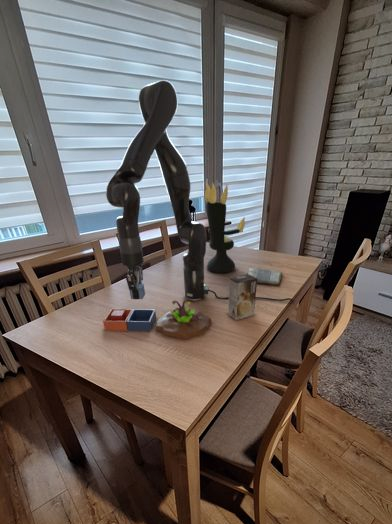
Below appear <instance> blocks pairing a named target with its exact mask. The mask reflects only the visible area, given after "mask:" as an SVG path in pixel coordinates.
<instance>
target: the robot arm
mask: <svg viewBox="0 0 392 524" xmlns="http://www.w3.org/2000/svg"><path fill="white" fill-rule="evenodd" d="M178 104H179V100H178V94H177V91H176V88H175V87H174V85H173V84H172V83H171V82H170V81H168V80H165V79H163V80H157V81H154V82H153V83H150V84H147V85H144V86H143V87H141V88H140V89H139V93H138V105H139V110H140V113H141V114H140V115H141V117H142V119H143V122H144V124H143V126H142V128H140V130H139V131H138V132H137V134H136V135H135V136H134V138H132V140H131V142H130V144H129V145H128V147H127V149H126V151H125V154H124V156H123V159H122V161H121V164H120V166H119V167H118V168H117V169H116V171H115V172H114V173H113V175H112V176H111V178H110V179H109V180H108V183H107V184H106V190H105V197H106V200H107V202H108V204H109V205H111V206H112V207H115V208H119V209H120V208H121V209H122V215H121V216H118V217H117V218H116V221H115V225H116V226H115V227H116V232H117V235H118V248H119V253H120V259H121V264H122V265H123V266H125V267H126V268H127V275H125V280H126V283H127V288H128V291H130V290H132V294H133V299H132V300H140V299H139V291H138V284H143V280H144V274H143V264H144V262H145V259H144V252H143V245H142V239H141V235H140V228H139V218H140V208H141V195H140V191H139V189H138V187H137V185H136V184H137V183H140V182H142V181H143V178H144V176H145V173H146V171H147V168H148V166H149V164H150V161H151V159H152V156H153V154H154V152H155V154H156V158H157V160H158V164H159V167H160V171H161V174H162V179H163V182H164V186H165V188H166V192H167V195H168V197H169V201H170V205H171V207H172V208H171V209H172V212H173V216H174V220H175V225H176V231H177V235H178V238H179V240H180V241H181V242H182V243H183V244H185V245H188V250H187V251H188V252H185V253H184V254H183V255H182V265H183V288H184V290H183V291H184V300H188V301H190V302H198V301H204V300H205V295H206V296H207V295H209V293H212V294H214V296H215V298H216V299H219V300H229V296H228V297H220V296H218V294H217V293H216V291H214V290H211V289H209V288H210V287H209V285H206V284H205V257H206V253H207V229H206V227H205V225H204V224H203V223H201V222H197V221H193V218H192V216H191V212H190V211H191V210H190V207H189V206H190V205H189V203H190V201H189V200H190V195H191V180H190V174H189V171H188V167H187V164H186V161H185V160H184V158H183V156H182V155H181V154H180V152H179V151H178V149H177V148H176V147H175V146H174V144H173V142H172V141H171V140H170V137H169V135H168V131H167V129H168V127H169V126H170V124H171V122H172V121H173V119H174V117H175V116H176V113H177V109H178ZM133 286H134V287H133ZM256 299H257V300H269V301H277V302H284V301H291V302H295V300H294V299H293V298H290V297H288V298H287V297H286V298H283V299H282V298H270V297H263V296H262V297H261V296H256ZM256 299H255V300H256Z"/></svg>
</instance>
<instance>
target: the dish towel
mask: <svg viewBox="0 0 392 524" xmlns="http://www.w3.org/2000/svg"><path fill="white" fill-rule="evenodd" d="M247 274H249V275H251V276H253V277H255V278H257V284H263V285H272V286H279V285H280V282H281V279H282V276H283V271H281V270H271V269H268V268H267V269H266V268H259V267H258V268H254V267H249V269H248V272H247Z"/></svg>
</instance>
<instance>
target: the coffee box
mask: <svg viewBox="0 0 392 524" xmlns="http://www.w3.org/2000/svg"><path fill="white" fill-rule="evenodd" d="M228 285H229V286H228V290H229V291H228V297H229V299H228V308H227V309H228V311H227V314H228V315H229V316H230V317H231V318H233V319H234V320H235V321H237V320H241V319H245V318H247V317H251V316H254V315H255V309H256V297H257V289H258V288H257V286H258V283H257V278H255V277H253V276H251V275H249V274H248V273H247V274H242V275H237V276H233V277H229V284H228Z"/></svg>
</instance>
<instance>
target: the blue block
mask: <svg viewBox="0 0 392 524" xmlns="http://www.w3.org/2000/svg"><path fill="white" fill-rule="evenodd" d="M133 287H134V286H133ZM138 291H139V299H138V300H143V299H144V298H145V296H146V290H145V283H142V284H138ZM129 294H130V299H131V300H134V299H133V294H132V290H129Z"/></svg>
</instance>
